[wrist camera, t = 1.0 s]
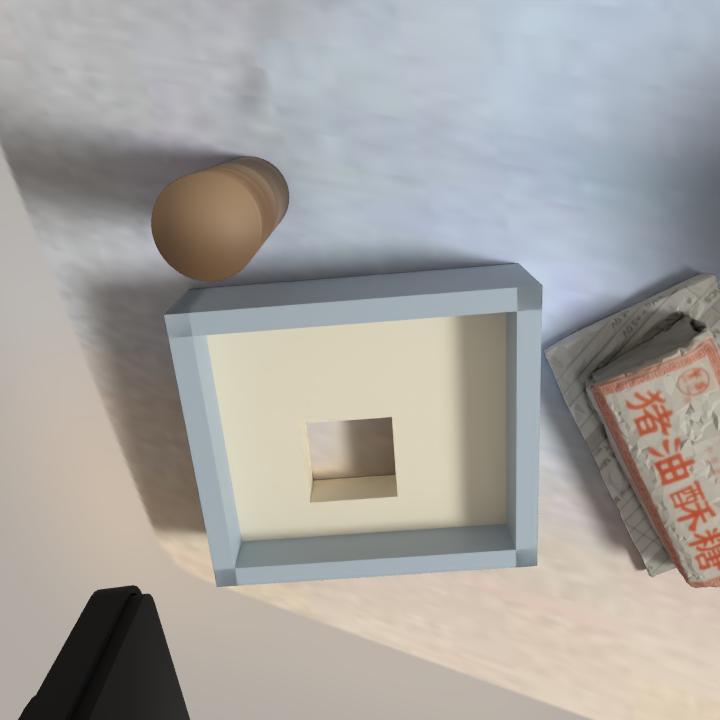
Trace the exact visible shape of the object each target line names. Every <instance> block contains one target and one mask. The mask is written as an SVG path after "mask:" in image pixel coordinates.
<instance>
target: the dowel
mask: <svg viewBox="0 0 720 720" xmlns="http://www.w3.org/2000/svg"><path fill="white" fill-rule="evenodd" d="M288 204H289V190H288V186H287V183H286V181H285V179H284V177H283V175H282V174H281V172H280V171H279V170H278V169H277V168H276V167H275V166H274V165H272V164H271V163H270V162H268V161H266V160H264V159H261V158H257V157H242V158H238V159H235V160H232V161H229V162H226V163H223V164H220V165H217V166H214V167H211V168H208V169H205V170H202V171H199V172H196V173H193V174H190V175H187V176H184V177H181V178H179V179H177V180H175V181H174V182H172V183H171V184H169V185H168V186H167V187H166V188H165V189H164V190H163V191H162V193H161V194H160V195H159V197H158V199H157V201H156V203H155V205H154V208H153V212H152V219H151V227H152V234H153V238H154V241H155V244H156V246H157V248H158V250H159V252H160V254H161V255H162V257H163V258H164V259H165V261H166V262H167V263H168V264H169V265H170V266H171V267H172V268H174V269H175V270H176V271H178V272H179V273H181V274H183V275H185V276H187V277H189V278H192V279H195V280H199V281H220V280H223V279H227V278H229V277H231V276H233V275H235V274H237V273H238V272H240V271H241V270H242V269H243V268H244V267H245V266H246V265H247V264H248V263H249V261H250V260H251V259H252V258H253V256H254V255H255V254H256V252H257V251H258V250H259V249H260V247H261V246H262V245H263V243H264V242H265V241H266V240H267V238H268V237H269V236H270V234H271V233H272V232H273V231H274V229H275V228H276V227H277V225H278V224H279V223H280V222H281V220H282V219H283V217H284V216H285V214H286V211H287V209H288Z"/></svg>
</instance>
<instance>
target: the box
mask: <svg viewBox="0 0 720 720" xmlns="http://www.w3.org/2000/svg"><path fill="white" fill-rule="evenodd" d="M164 318H165V323H166V328H167V333H168V338H169V344H170V349H171V354H172V359H173V364H174V369H175V374H176V379H177V384H178V390H179V395H180V400H181V405H182V410H183V415H184V420H185V425H186V431H187V436H188V441H189V446H190V451H191V456H192V461H193V466H194V471H195V477H196V482H197V487H198V492H199V497H200V502H201V507H202V512H203V517H204V523H205V528H206V533H207V538H208V543H209V548H210V553H211V558H212V564H213V569H214V574H215V579H216V584H217V587H223V586H238V585H253V584H269V583H284V582H299V581H314V580H330V579H345V578H360V577H375V576H391V575H406V574H421V573H436V572H452V571H467V570H482V569H497V568H513V567H528V566H537V544H538V490H539V437H540V383H541V329H542V285H541V284H540V283H539V282H538V281H537V280H536V279H535V278H534V277H533V276H532V275H530V274H529V273H528V272H527V271H526V270H525V269H524V268H523V267H522V266H521V265H520V264H519V263H518V264H505V265H492V266H480V267H467V268H455V269H442V270H429V271H417V272H404V273H392V274H379V275H366V276H354V277H341V278H329V279H316V280H303V281H291V282H278V283H266V284H253V285H240V286H228V287H215V288H203V289H190V290H188V291H187V292H186V293H185V294H184V295H183V296H182V297H181V298H180V299H179V300H178V301H177V302H176V303H175V304H174V305H173V306H172V307H171V308H170V309H169V310H168V311H167V312H166V313H165V314H164ZM386 417H391V418H392V432H393V446H394V461H395V475H384V476H370V477H356V478H341V479H327V480H313V478H312V469H311V461H310V453H309V445H308V437H307V429H306V423H317V422H331V421H345V420H359V419H372V418H386Z"/></svg>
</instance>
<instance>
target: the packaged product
mask: <svg viewBox="0 0 720 720" xmlns="http://www.w3.org/2000/svg"><path fill="white" fill-rule="evenodd" d="M543 351H544V354H545V356H546V358H547V361H548V363H549V365H550V367H551V370H552V372H553V374H554V377H555V379H556V381H557V384H558V386H559V388H560V391H561V393H562V395H563V398H564V400H565V402H566V404H567V407H568V409H569V411H570V412H571V414H572V416H573V418H574V420H575V422H576V424H577V425H578V427H579V429H580V431H581V433H582V435H583V437H584V439H585V441H586V443H587V445H588V447H589V449H590V451H591V453H592V455H593V457H594V459H595V461H596V463H597V465H598V468H599V470H600V473H601V476H602V478H603V481H604V483H605V485H606V487H607V489H608V490H609V493H610V495H611V497H612V498H613V500H614V502H615V503H616V505H617V507H618V509H619V511H620V515H621V518H622V520H623V522H624V524H625V526H626V528H627V531H628V533H629V535H630V537H631V539H632V540H633V542H634V544H635V546H636V548H637V549H638V551H639V553H640V555H641V556H642V558H643V561H644V563H645V566H646V568H647V571H648V573H649V575H650V576H651V577H654V576H656V575H658V574H661V573H663V572H666V571H668V570H671V569H674V568H676V567H677V569H678V570H679V572H680V573H681V575H682V576H683V577H684V579H685V581H686V582H687V583H688V584H689V585H690V586H692V587H695V588H699V587H709V586H711V587H720V290H719V287H718V283H717V280H716V277H715V276H714V274H705V273H701V274H699V275H696V276H693V277H691V278H689V279H687V280H685V281H683V282H681V283H679V284H677V285H674V286H672V287H670V288H668V289H666V290H664V291H662V292H660V293H658V294H655V295H653V296H651V297H649V298H647V299H645V300H643V301H641V302H639V303H637V304H634V305H632V306H630V307H628V308H626V309H623V310H621V311H619V312H617V313H615V314H613V315H611V316H608V317H606V318H604V319H602V320H600V321H598V322H596V323H594V324H591V325H589V326H587V327H585V328H583V329H581V330H579V331H576V332H575V333H573V334H571V335H569V336H567V337H565V338H563V339H561V340H560V341H558V342H556V343H555V344H553V345H551V346H550V347H548V348H546V349H545V350H543Z"/></svg>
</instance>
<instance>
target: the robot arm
mask: <svg viewBox="0 0 720 720" xmlns="http://www.w3.org/2000/svg"><path fill="white" fill-rule="evenodd" d="M18 720H190V718H189V714H188V711H187V708H186V705H185V701H184V698H183V695H182V691H181V688H180V685H179V681H178V678H177V675H176V672H175V668H174V665H173V662H172V659H171V655H170V652H169V649H168V645H167V643H166V639H165V635H164V632H163V629H162V625H161V623H160V619H159V616H158V612H157V609H156V606H155V602H154V600H153V597H152V596H151V595H150V594H142V593H141V591H140V589H139V588H138V587H137V586H134V585H132V586H124V587H116V588H109V589H101V590H97V591H95V592H94V594H93V595H92V596H91V597H90V599H89V601H88V603H87V604H86V606H85V608H84V610H83V612H82V613H81V615H80V617H79V619H78V621H77V623H76V624H75V626H74V628H73V630H72V631H71V633H70V635H69V637H68V639H67V640H66V642H65V644H64V646H63V647H62V650H61V651H60V653H59V655H58V656H57V658H56V660H55V662H54V664H53V665H52V667H51V669H50V671H49V673H48V674H47V676H46V678H45V680H44V682H43V683H42V685H41V687H40V689H39V691H38V692H37V694H36V696H34V697H33V698H32V699H31V700H30V702H29V703H28V704H27V706H26V707H25V709H24V710H23V712H22V714H21V716H20V717H19V719H18Z"/></svg>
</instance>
